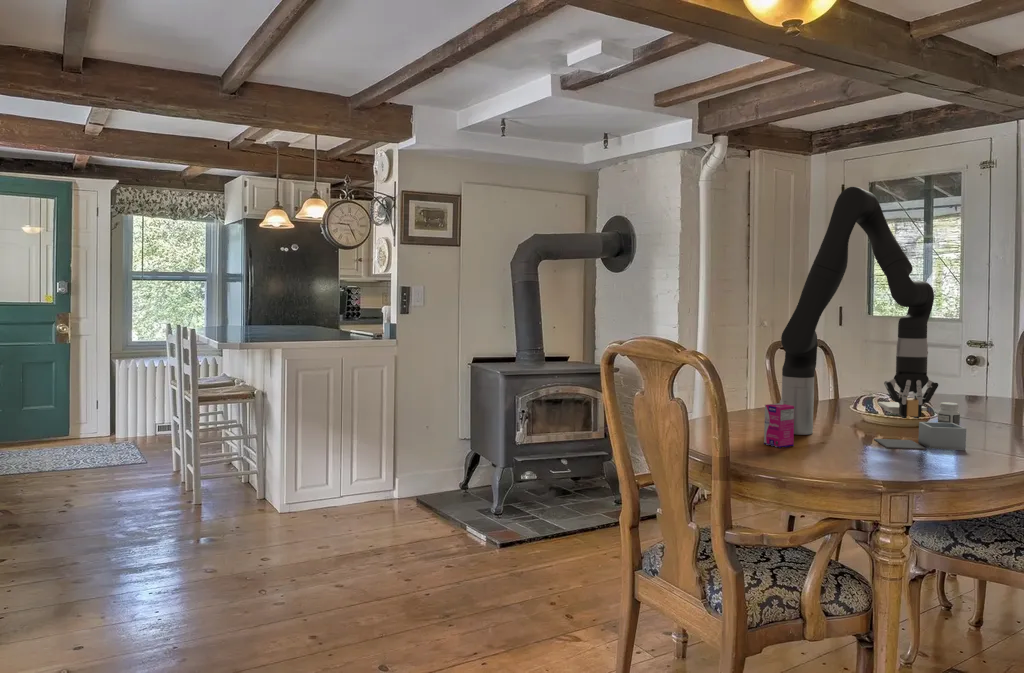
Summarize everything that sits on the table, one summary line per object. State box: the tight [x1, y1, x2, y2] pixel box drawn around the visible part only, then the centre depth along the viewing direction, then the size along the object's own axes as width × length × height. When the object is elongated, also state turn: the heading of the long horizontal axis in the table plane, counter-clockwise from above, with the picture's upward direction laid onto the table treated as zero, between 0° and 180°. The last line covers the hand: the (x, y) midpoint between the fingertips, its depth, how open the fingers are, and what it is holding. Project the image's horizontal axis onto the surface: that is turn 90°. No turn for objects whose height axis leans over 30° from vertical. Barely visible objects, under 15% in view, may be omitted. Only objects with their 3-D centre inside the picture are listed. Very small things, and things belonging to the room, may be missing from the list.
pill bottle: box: [937, 401, 961, 426], centre depth 230 cm, size 6×6×10 cm
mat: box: [873, 438, 927, 451], centre depth 217 cm, size 10×12×1 cm
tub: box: [917, 421, 967, 451], centre depth 215 cm, size 9×9×6 cm
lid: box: [876, 397, 928, 417], centre depth 214 cm, size 14×10×5 cm
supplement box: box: [763, 402, 795, 449], centre depth 214 cm, size 6×6×12 cm
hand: (910, 417), depth 209 cm, fingers closed on lid, 2 cm apart
